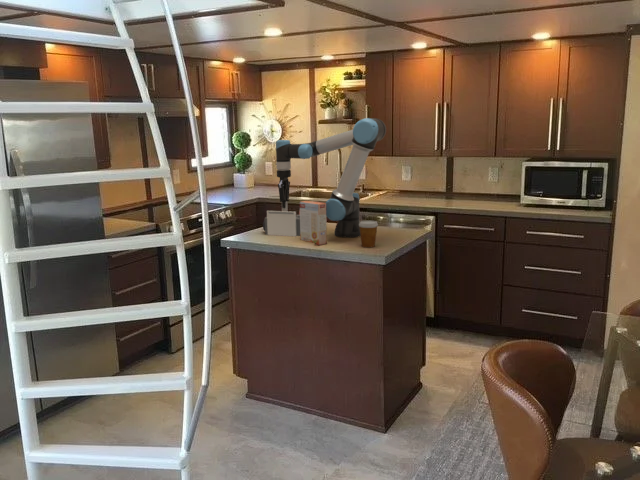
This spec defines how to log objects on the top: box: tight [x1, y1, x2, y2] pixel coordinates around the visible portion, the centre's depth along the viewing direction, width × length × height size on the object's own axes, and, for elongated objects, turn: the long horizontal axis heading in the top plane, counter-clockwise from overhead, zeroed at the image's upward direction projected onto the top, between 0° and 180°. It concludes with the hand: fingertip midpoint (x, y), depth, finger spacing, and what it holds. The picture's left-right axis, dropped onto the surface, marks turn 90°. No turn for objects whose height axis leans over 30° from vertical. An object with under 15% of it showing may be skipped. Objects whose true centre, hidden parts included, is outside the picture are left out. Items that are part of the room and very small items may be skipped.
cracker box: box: [299, 200, 328, 246], centre depth 295 cm, size 14×6×21 cm, turn 43°
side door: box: [266, 210, 298, 237], centre depth 309 cm, size 16×1×13 cm, turn 73°
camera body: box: [262, 214, 300, 237], centre depth 316 cm, size 22×10×11 cm, turn 73°
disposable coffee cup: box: [359, 220, 379, 248], centre depth 286 cm, size 10×10×12 cm
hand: (284, 213), depth 313 cm, fingers closed
